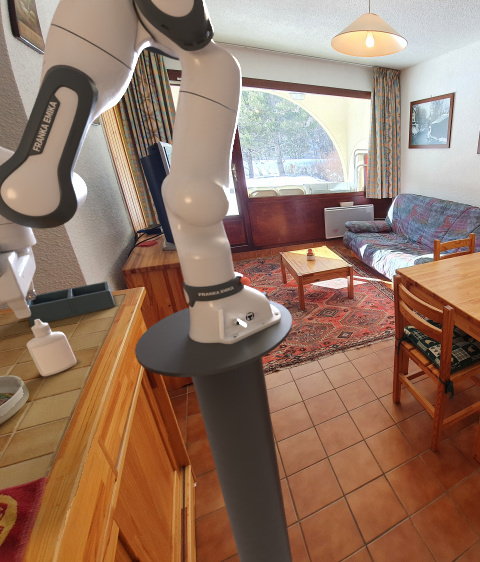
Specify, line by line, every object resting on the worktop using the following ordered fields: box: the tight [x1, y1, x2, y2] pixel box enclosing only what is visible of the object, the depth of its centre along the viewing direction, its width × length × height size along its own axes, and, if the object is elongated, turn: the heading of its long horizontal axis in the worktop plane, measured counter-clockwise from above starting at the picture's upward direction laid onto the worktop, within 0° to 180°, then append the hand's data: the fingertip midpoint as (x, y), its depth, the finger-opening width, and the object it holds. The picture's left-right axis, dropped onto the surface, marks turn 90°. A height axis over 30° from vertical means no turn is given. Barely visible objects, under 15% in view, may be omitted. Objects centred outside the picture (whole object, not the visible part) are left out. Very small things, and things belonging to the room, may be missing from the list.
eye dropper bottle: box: [26, 319, 77, 377], centre depth 64 cm, size 4×6×12 cm
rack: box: [26, 281, 116, 327], centre depth 89 cm, size 17×9×5 cm, turn 131°
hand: (28, 307), depth 60 cm, fingers open, 8 cm apart
